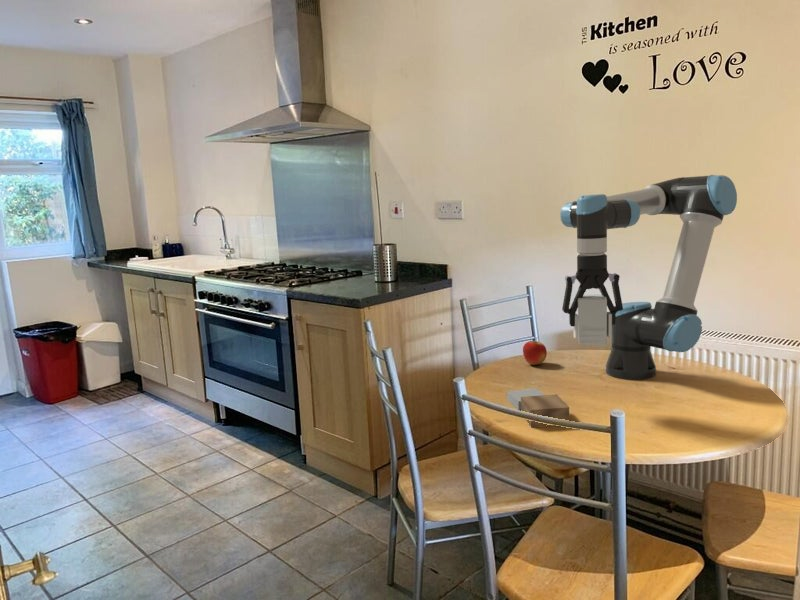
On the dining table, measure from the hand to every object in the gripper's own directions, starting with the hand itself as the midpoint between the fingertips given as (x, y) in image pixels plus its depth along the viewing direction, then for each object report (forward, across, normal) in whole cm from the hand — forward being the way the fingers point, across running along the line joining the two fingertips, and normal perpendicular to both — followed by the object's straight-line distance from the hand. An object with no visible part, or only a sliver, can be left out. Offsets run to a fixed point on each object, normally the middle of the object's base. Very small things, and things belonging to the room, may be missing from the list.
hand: (592, 336), depth 155 cm
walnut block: (+20, +14, +8) cm, 26 cm away
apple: (+20, +10, -42) cm, 48 cm away
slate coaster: (+20, +17, -4) cm, 27 cm away
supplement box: (+2, 0, 0) cm, 2 cm away
